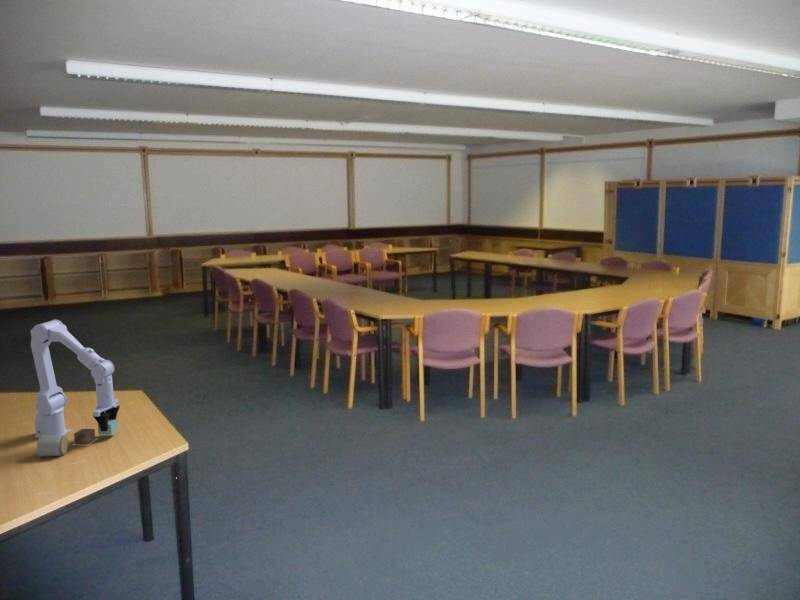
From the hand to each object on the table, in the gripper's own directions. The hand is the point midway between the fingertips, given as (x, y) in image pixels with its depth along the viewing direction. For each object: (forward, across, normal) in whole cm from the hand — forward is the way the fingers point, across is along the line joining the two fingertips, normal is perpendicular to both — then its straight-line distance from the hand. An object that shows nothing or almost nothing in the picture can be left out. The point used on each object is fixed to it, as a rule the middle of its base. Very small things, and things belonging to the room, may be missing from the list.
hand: (108, 428), depth 239 cm
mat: (+4, -5, +8) cm, 10 cm away
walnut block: (+3, -5, +6) cm, 9 cm away
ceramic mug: (+4, -15, +12) cm, 20 cm away
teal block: (+2, 0, 0) cm, 2 cm away
